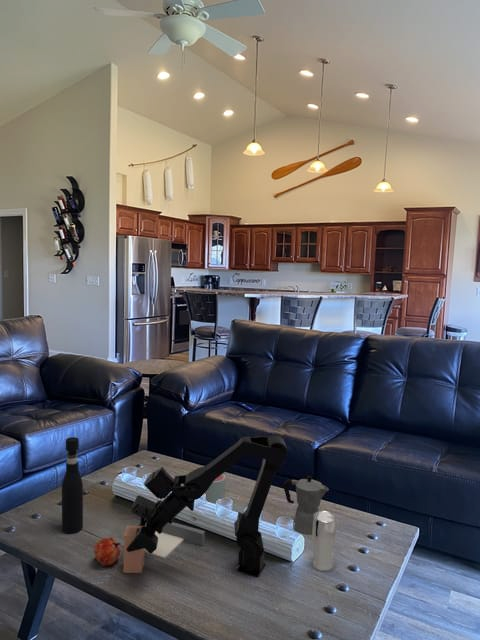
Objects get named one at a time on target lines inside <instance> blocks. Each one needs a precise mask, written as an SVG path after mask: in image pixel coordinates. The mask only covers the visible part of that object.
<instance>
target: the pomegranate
mask: <svg viewBox="0 0 480 640" xmlns="http://www.w3.org/2000/svg"><path fill="white" fill-rule="evenodd" d="M120 545H122V543H121V542H117V540H116V539H115V538H114V537H104V538H101V539H100V540H98V541H97V543H96V544H95V545H94V547H93V553H94V555H95V558H93V559H94V561H95V560H97V561H98V562H99V563H100V564H101V565H102V566H110V565H113V564H114V563H116V561H117V560H118V559H119V557H120V555H121V551H122V548H121V546H120Z"/></svg>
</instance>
